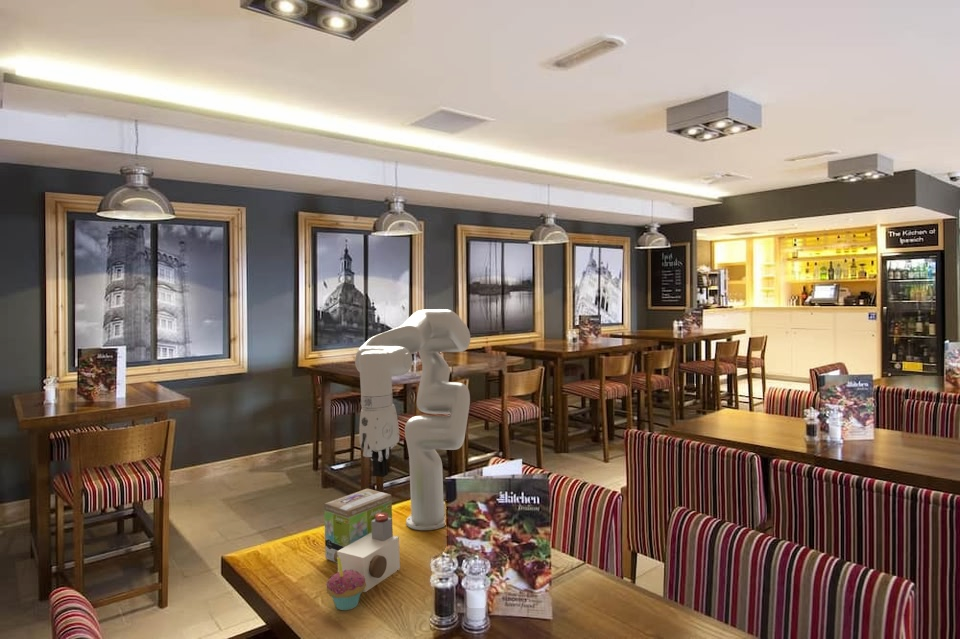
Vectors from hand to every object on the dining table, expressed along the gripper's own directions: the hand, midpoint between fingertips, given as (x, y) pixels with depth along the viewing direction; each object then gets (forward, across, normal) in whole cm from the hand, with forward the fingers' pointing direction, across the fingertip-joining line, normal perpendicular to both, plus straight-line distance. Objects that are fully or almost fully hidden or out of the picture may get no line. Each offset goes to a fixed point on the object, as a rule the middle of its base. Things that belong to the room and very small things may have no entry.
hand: (380, 475), depth 150 cm
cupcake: (+23, -18, -4) cm, 29 cm away
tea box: (+24, +4, +11) cm, 27 cm away
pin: (+21, -8, +2) cm, 22 cm away
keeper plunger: (+15, -1, 0) cm, 15 cm away
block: (+23, -5, 0) cm, 24 cm away
